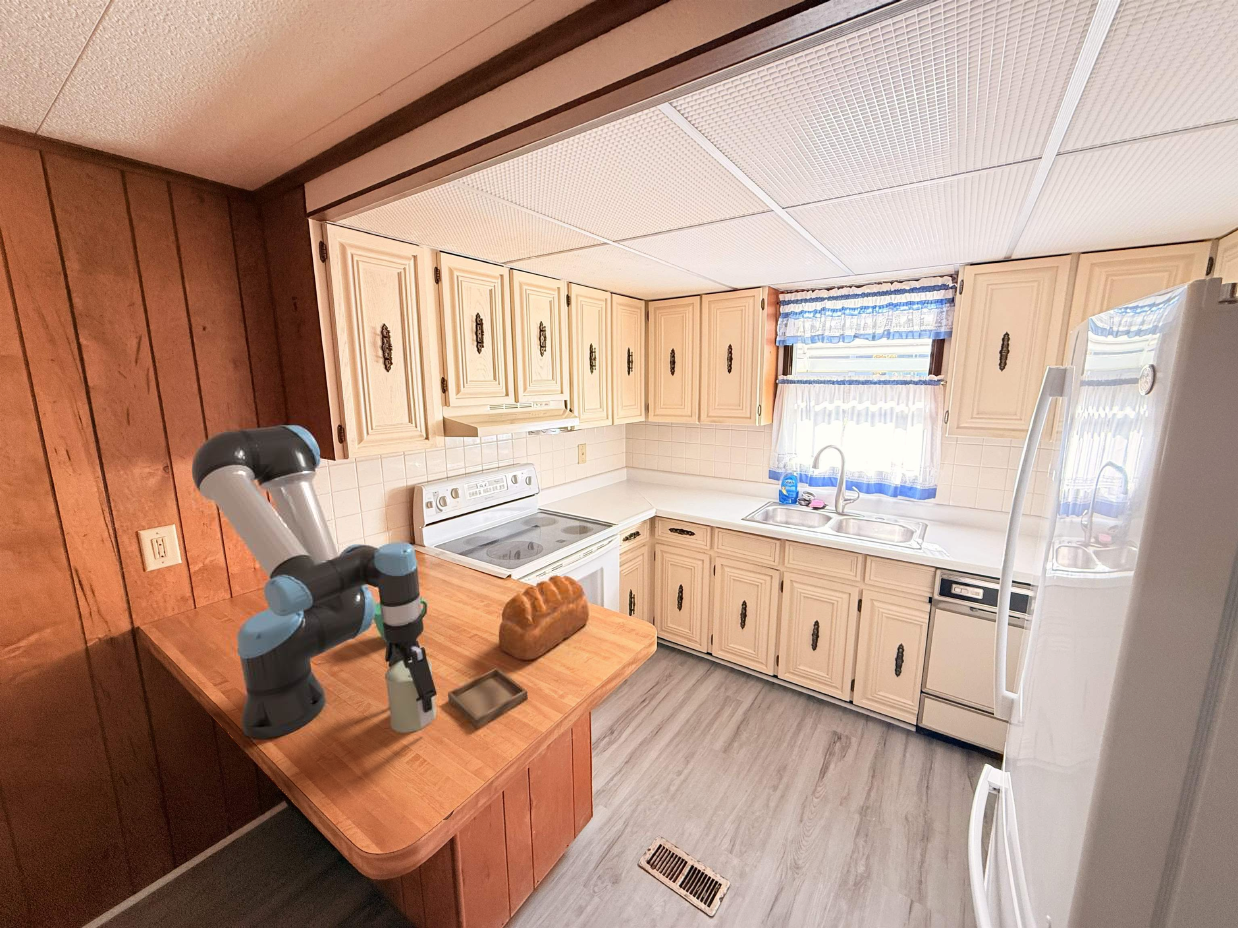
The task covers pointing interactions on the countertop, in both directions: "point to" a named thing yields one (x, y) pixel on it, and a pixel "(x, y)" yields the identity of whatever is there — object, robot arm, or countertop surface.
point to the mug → (380, 623)
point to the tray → (487, 697)
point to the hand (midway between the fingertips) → (413, 707)
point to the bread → (542, 617)
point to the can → (403, 698)
